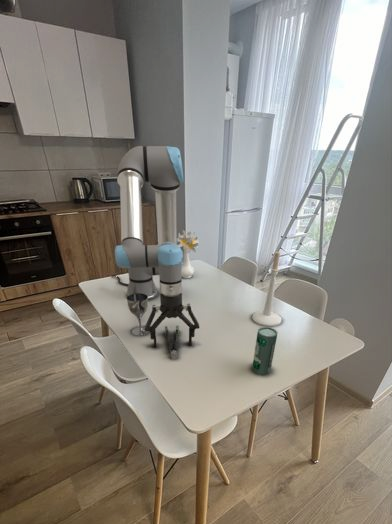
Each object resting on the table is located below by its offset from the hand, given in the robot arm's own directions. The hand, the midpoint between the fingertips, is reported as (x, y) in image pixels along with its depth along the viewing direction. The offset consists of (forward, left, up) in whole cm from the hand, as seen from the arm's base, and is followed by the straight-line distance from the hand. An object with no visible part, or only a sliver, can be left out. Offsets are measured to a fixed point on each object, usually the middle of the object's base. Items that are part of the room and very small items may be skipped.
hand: (173, 344), depth 114 cm
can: (+25, +24, 0) cm, 35 cm away
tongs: (0, 0, 0) cm, 0 cm away
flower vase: (-68, +31, 0) cm, 75 cm away
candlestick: (-6, +46, 0) cm, 46 cm away
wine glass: (-15, -9, 0) cm, 17 cm away
